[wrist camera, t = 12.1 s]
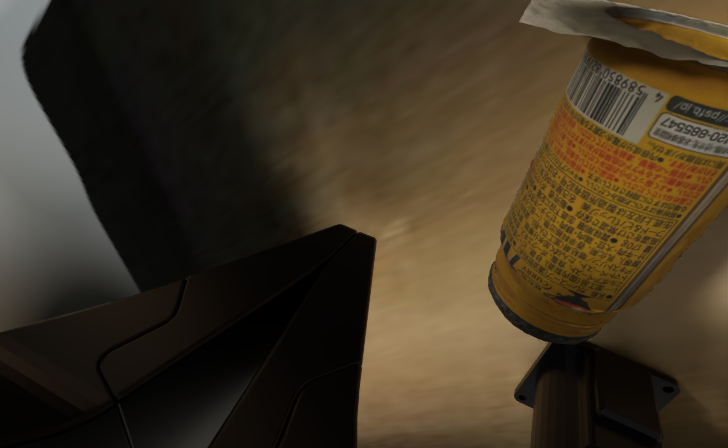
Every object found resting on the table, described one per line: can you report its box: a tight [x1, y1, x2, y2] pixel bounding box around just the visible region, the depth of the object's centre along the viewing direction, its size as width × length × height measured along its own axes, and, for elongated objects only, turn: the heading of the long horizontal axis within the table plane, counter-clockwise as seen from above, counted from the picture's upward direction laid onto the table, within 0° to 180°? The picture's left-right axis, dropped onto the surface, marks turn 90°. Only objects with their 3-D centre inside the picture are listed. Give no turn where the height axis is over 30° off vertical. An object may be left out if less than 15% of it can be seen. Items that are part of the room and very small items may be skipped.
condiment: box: [488, 0, 728, 344], centre depth 16 cm, size 7×8×12 cm
